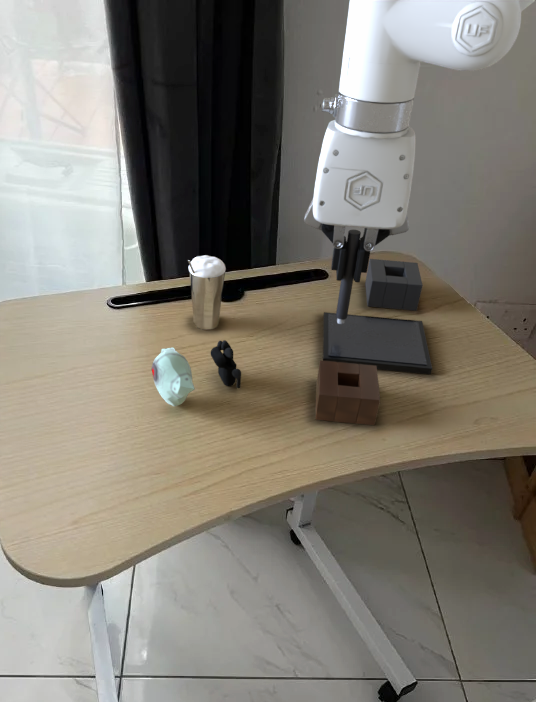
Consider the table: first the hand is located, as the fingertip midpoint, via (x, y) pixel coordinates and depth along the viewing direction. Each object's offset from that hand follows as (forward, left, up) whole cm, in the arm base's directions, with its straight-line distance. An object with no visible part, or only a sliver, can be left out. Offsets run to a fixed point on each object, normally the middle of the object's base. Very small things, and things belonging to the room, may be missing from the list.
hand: (347, 275), depth 78 cm
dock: (-8, -13, -9) cm, 18 cm away
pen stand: (-1, +13, -9) cm, 16 cm away
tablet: (-5, 0, -9) cm, 10 cm away
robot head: (+18, +16, -10) cm, 26 cm away
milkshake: (+17, -1, -10) cm, 20 cm away
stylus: (0, 0, -7) cm, 7 cm away
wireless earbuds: (+13, +11, -10) cm, 20 cm away
